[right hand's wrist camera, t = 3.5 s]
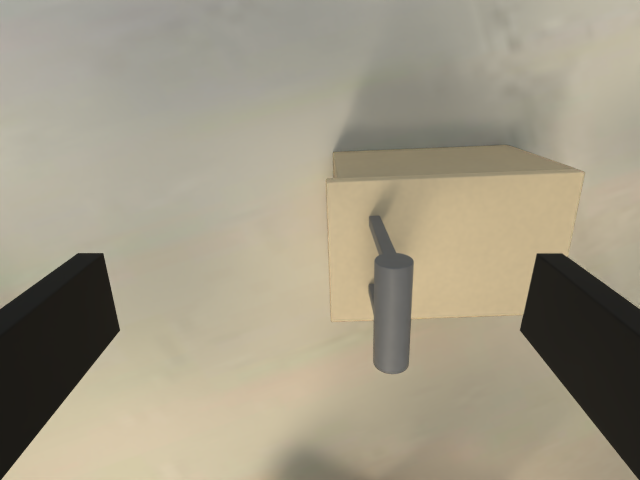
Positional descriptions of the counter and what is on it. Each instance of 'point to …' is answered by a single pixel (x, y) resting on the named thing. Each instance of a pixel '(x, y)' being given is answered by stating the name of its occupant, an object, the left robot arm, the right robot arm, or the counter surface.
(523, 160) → the chest
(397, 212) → the lid
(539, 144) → the counter surface
